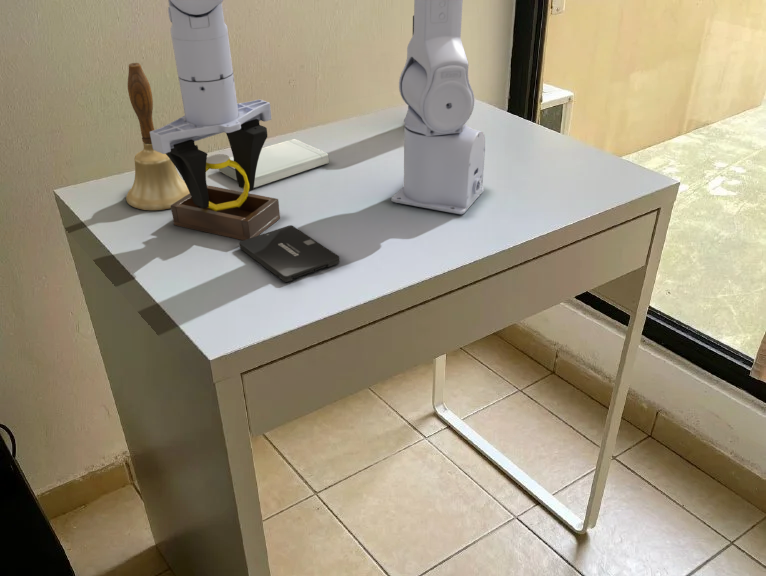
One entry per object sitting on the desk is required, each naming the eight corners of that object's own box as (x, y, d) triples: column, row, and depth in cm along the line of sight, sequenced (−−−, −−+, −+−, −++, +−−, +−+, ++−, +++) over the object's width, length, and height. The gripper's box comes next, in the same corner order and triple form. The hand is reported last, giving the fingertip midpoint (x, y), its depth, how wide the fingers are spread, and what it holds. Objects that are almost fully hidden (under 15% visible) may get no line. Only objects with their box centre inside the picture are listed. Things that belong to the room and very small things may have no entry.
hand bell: (207, 195, 97) (185, 62, 88) (151, 217, 93) (121, 78, 83) (169, 178, 102) (144, 49, 92) (113, 197, 97) (81, 64, 87)
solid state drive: (291, 230, 89) (291, 224, 89) (341, 262, 83) (340, 257, 83) (238, 247, 86) (237, 241, 86) (285, 283, 80) (285, 277, 79)
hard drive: (251, 177, 98) (328, 152, 104) (216, 159, 103) (292, 136, 109) (253, 190, 99) (329, 164, 105) (218, 171, 104) (293, 148, 110)
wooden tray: (280, 218, 92) (278, 198, 91) (250, 241, 87) (247, 221, 86) (206, 203, 96) (203, 184, 94) (173, 225, 91) (170, 205, 89)
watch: (249, 199, 92) (243, 150, 88) (253, 209, 90) (247, 159, 86) (198, 206, 91) (190, 156, 87) (201, 216, 89) (192, 165, 85)
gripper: (167, 98, 75) (191, 227, 83) (283, 66, 83) (294, 187, 91) (129, 83, 79) (155, 208, 87) (243, 54, 87) (257, 171, 95)
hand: (224, 196), depth 90 cm, fingers closed on watch, 6 cm apart
